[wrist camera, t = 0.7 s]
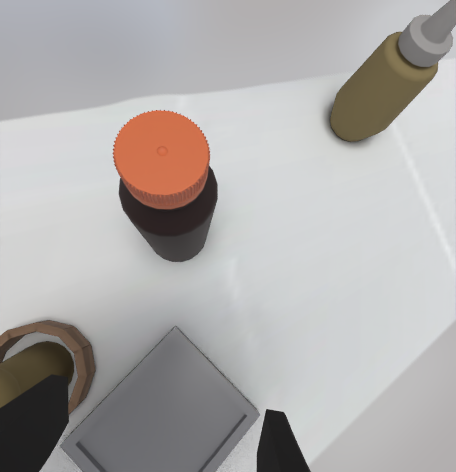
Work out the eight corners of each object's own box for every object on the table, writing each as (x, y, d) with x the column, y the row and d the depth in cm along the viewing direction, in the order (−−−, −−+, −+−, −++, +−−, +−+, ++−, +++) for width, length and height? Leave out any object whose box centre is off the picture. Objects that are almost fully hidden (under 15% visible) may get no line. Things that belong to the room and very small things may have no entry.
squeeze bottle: (322, 146, 39) (431, 24, 21) (321, 96, 41) (420, -54, 23) (375, 152, 40) (520, 40, 22) (371, 103, 42) (503, -35, 24)
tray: (155, 538, 27) (153, 549, 26) (65, 439, 28) (59, 445, 26) (257, 410, 30) (260, 415, 29) (175, 325, 31) (175, 327, 30)
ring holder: (33, 449, 27) (18, 465, 25) (-34, 375, 28) (-55, 383, 25) (114, 369, 29) (107, 375, 27) (51, 302, 30) (39, 302, 28)
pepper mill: (84, 351, 29) (24, 383, 19) (57, 412, 28) (-25, 484, 17) (29, 333, 29) (-65, 355, 18) (-1, 393, 28) (-121, 455, 17)
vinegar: (217, 235, 34) (254, 156, 15) (176, 274, 32) (157, 243, 13) (179, 197, 34) (166, 71, 15) (137, 233, 33) (62, 145, 13)
